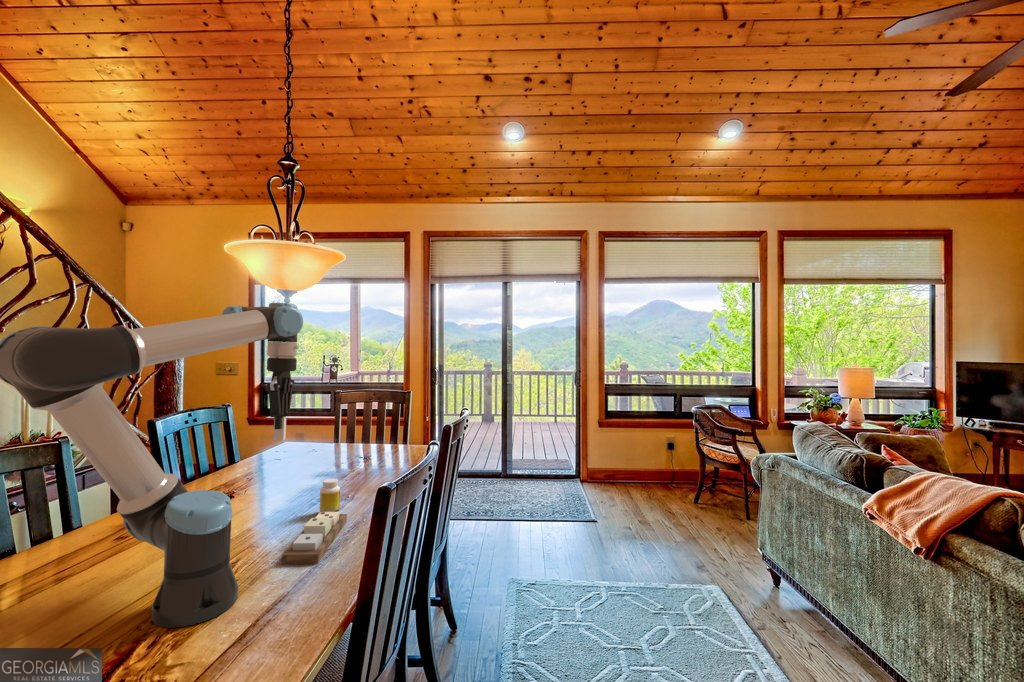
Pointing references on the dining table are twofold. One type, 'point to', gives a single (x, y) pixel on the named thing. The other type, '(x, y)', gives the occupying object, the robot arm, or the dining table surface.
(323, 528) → the tile two
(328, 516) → the tile three
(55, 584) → the dining table surface
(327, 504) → the pill bottle
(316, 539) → the tile one
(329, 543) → the tile tray
